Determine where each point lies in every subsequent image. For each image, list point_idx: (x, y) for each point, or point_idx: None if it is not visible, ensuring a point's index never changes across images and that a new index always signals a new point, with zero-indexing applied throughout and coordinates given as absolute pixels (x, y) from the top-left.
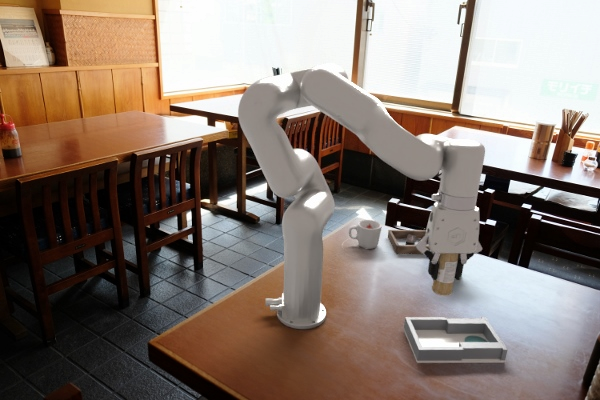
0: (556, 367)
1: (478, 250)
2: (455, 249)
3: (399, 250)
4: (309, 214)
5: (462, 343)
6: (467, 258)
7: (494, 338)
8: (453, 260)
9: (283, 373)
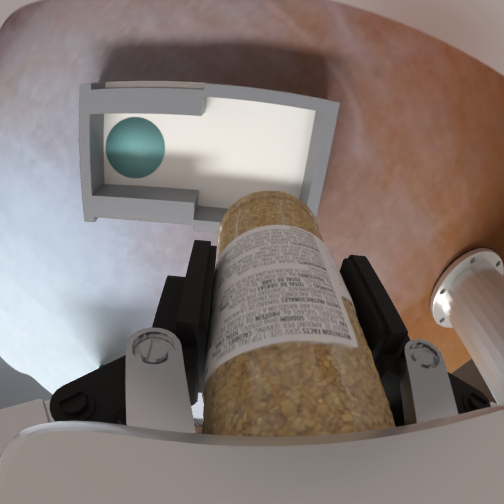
0: (8, 79)
1: (6, 421)
2: (353, 499)
3: (201, 432)
4: None
5: (194, 110)
6: (113, 373)
7: (91, 135)
8: (289, 359)
9: None
